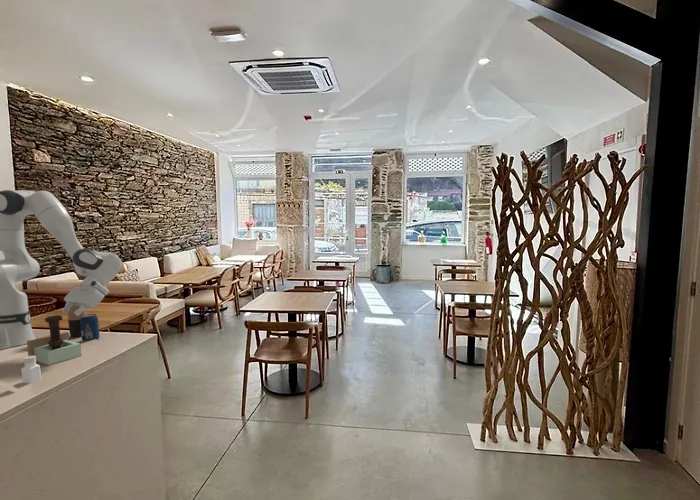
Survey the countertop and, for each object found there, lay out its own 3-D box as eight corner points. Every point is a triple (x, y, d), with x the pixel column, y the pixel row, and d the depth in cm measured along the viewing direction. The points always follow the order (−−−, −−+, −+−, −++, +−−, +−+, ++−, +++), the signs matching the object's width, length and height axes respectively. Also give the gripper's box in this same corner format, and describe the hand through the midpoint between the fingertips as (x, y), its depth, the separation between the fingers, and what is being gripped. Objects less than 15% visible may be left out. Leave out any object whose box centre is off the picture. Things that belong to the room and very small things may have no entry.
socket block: (81, 355, 164) (80, 343, 163) (49, 365, 154) (47, 352, 153) (67, 351, 170) (66, 339, 169) (34, 360, 160) (33, 348, 159)
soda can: (95, 337, 192) (93, 312, 191) (102, 339, 188) (100, 314, 187) (79, 341, 187) (77, 316, 185) (85, 344, 183) (83, 318, 181)
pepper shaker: (34, 380, 142) (31, 354, 141) (42, 382, 141) (39, 355, 140) (22, 385, 138) (19, 358, 137) (30, 386, 137) (27, 359, 136)
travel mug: (74, 338, 191) (70, 297, 189) (66, 336, 195) (62, 295, 193) (91, 334, 197) (88, 294, 195) (83, 332, 201) (80, 292, 199)
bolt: (55, 356, 159) (52, 318, 158) (44, 355, 160) (41, 318, 159) (68, 351, 165) (65, 315, 164) (58, 350, 166) (54, 314, 165)
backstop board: (93, 359, 162) (91, 337, 161) (53, 372, 150) (51, 348, 149) (66, 351, 172) (64, 331, 172) (27, 362, 160) (25, 340, 159)
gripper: (74, 280, 177) (51, 306, 170) (99, 283, 167) (76, 312, 159) (86, 288, 181) (63, 314, 174) (111, 292, 171) (89, 320, 163)
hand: (69, 313), depth 166 cm, fingers open, 8 cm apart
